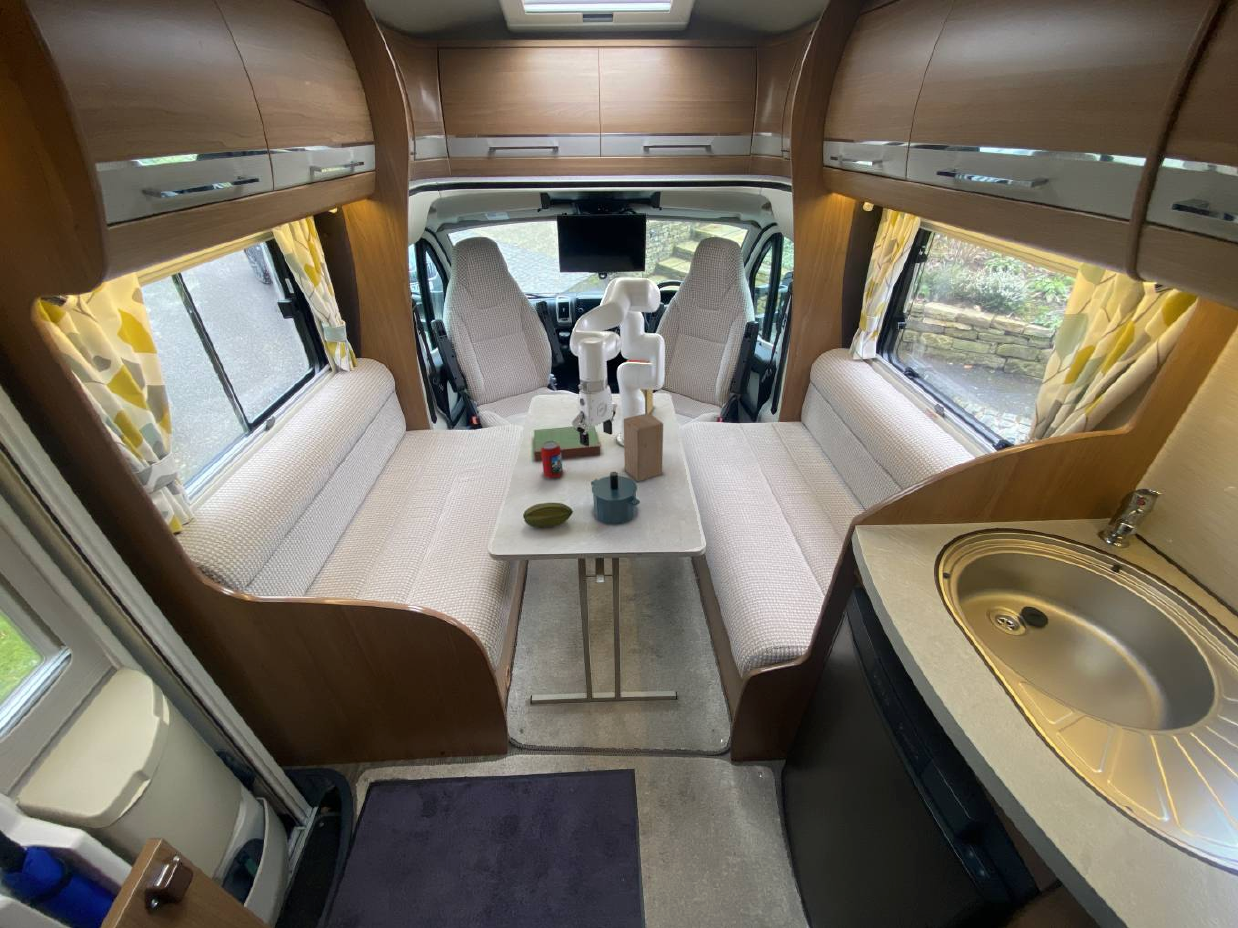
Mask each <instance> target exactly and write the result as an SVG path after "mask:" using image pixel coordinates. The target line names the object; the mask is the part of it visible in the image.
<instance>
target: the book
mask: <svg viewBox="0 0 1238 928" xmlns="http://www.w3.org/2000/svg"><path fill="white" fill-rule="evenodd" d="M585 426H586V425H584V426H583V429H584V428H585ZM587 433H588V434H589V446H588V447H587V446H585V445H582V444H581V443H580V434H579V432H578V431H577V430H575V429H574V427H573V426H564V427H563V426H562V427H551V428H543V429H534V430H533V440H534V441H533V442H534V443H533V447H534V448H533V450H534V458H535V462H541V461H542V454H541V448H542V446H543V443H545V442H548V441H555V442H557V443H558V445H559V446H560V448H561V457H562V459H572V458H581V457H590V456H600V455H601V447H602V444H601V442H600V441H599V438H598V433H597V430H596V426H594V427H589V429H588V432H587Z"/></svg>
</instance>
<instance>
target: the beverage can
mask: <svg viewBox="0 0 1238 928" xmlns="http://www.w3.org/2000/svg"><path fill="white" fill-rule="evenodd" d="M541 454H542V460H541V461H542V463H541V464H542V470H543V475H544V476H545V477H546V478H549V479H557V478H558V477H561V476H562V475H563V472H564V469H563V458H562V457H561V448H560V446H559V445H558V443H557V442H555V441H548V442H545V443H543V446H542V448H541Z"/></svg>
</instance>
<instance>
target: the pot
mask: <svg viewBox="0 0 1238 928" xmlns="http://www.w3.org/2000/svg"><path fill="white" fill-rule="evenodd" d="M597 480H598V479H597V478H596V479H594V480H592V481H590V485H591V486H593V484H594V483H595V482H596V481H597ZM592 495H593V513H594V516H595V518H596V519H597V520H599V522H601V523H604V524H607V525H608V524H609V525H620V524H626V523H628V522H629V521H631V520H633V519H634V518H635V516H636V514H637V506H638V505H639V504H640V503H641V501H640V499H638V498H637V492H636V493H635V495H634V496H632V497H631V498H629V499H627V500H623V501H618V502H609V501H604V500H601V499H599V498H597V497H596V496H594V494H593V493H592Z"/></svg>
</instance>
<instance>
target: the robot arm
mask: <svg viewBox="0 0 1238 928" xmlns="http://www.w3.org/2000/svg"><path fill="white" fill-rule="evenodd" d="M660 305H661V291H660V289H659V287H658V286H657V285H656V284H655V282H654V281H653V280H651V279H649V278H647V277H632V276H631V277H630V276H629V277H628V276H627V277H626V276H620V277H615V278H613V279H612V280H611V281H609V283H608V285H607V288H606V289H605V292H604V294H603V296H602V299H601V302H600V305H597V306H595V307H594V308H592V309H591V310H589V311H588V312H586V313H584V314H582V315H581V316H580V317H579V318H578V320H577V321H576V323H575V325H574V327H573V329H572V332H571V335H570V338H569V349H570V351H571V353H572V354H573V356H576V357H578V371H579V384H578V389H579V392H578V403H577V404H578V405H577V411H578V412H577V413H578V414H577V416H575V418H574V419H573V420H572V421H571V425H572V427H574V429H575V430H577V431H578V432H579V434H580V443H581V444H582V445H585V446H587V447H588V446H589V434H588V433H587V432H588V429H589V427H594V426H595V427H596V426H598V425H601V424H602V429H603V433H605V434H606V435H613V422H614V420H615V419H614V417H615V415H616V414H617V413H616V411H617V407H618V404H617V403H614V402H613V396H612V391H611V387H610V385H609V384H608V365H607V361H610V360H612V359H615V358H616V357H617V356H618V355H619V353H620V354H621V356H622V357H623V358H624V359H626V360H628V359H631V360H645V361H650V362H651V363H637V362H627V361H626V362H627V363H626V362H623V363H621V364H620V365H619V366H618V367H617V369H616V379H617V383H618V384H617V385H618V390H619V404H620V405H619V407H620V408H619V409H620V413H619V414H620V433H619V434H617V437H616V441H617V443H618V444H619V445H621V446H623V447H624V419H625V418H629V417H634V416H638V415H642V414H645V397H644V395H643V393H642V391H641V390H640V389H647V390H653V391H658V390H661V389H662V388H663V386H664V384H665V375H666V374H665V371H666V370H665V368H666V343H665V339H664V337H663V336H662V335H661V334H659V333H649V332H645V317H644V316H643V313H655V312H657V310H658V309H659V308H660ZM616 327H619V334H618V333H617V332H614V331H612V330H611V331H610V329H614V328H616ZM585 425H586V426H585ZM583 426H585V428H584V429H583Z"/></svg>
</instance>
